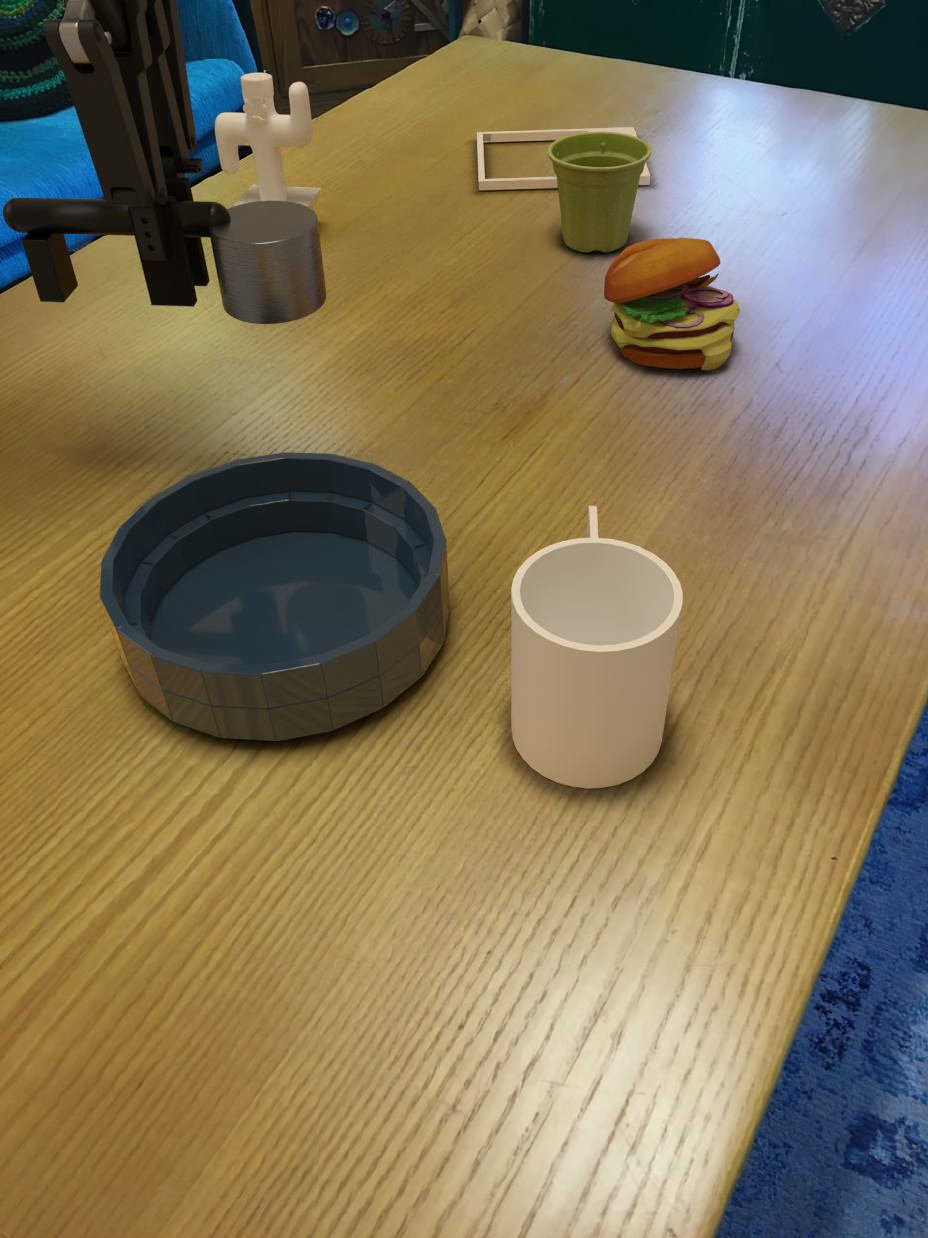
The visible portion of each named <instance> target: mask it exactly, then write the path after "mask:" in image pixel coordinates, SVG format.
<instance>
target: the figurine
mask: <svg viewBox="0 0 928 1238" xmlns="http://www.w3.org/2000/svg"><path fill="white" fill-rule="evenodd" d="M273 81H274V80H273V75H272V74H270V73H268V72H250V73H245V74H242V75H241V76H240V85H241V95H242V97H243V99H242V100H243V102H244V104H243V105H242V110H243V112H232V111H231V112H230V111H225V112H221V113H219V114H218V115H217V116H216V118H215V121H214V134H215V141H216V147H217V153H218V157H219V163H220V168H221V170H222V172H223V173H224V174H226V175H233V174H235V173H237V172H238V171H239V170H240V166H241V161H240V155H239V146H249V147H250V148H251V152H252V157H253V163H254V168H255V175H256V180H257V183H256V184H255V183H253V184H251V185H250V186H249V188H248V189H247V190H246V191H244V193H243V194H242V195H241V196H240V197H239V198H238V199H237V201H235V203H233V205H232V206H231V207H234V206H237V205H241V204H245V203H250V202H257V201H275V200H276V201H289V202H295V203H299V204H302V205H305V206H307V207H309V208H311V209H312V210H313V211H314V212H315V210H316V206H317V203H318V201H319V197H320V194H321V191H322V187H309V186H308V187H307V186H293V185H292V186H291V185H287V184H286V178H285V171H284V164H283V156H282V150H281V148H288V149H289V148H290V149H293V148H294V149H304V148H307V147H308V146H309V145H310V144H311V143H312V140H313V119H312V112H311V103H310V94H309V89H308V86H307V84H306V83H304V82H303V81H296V82H295V81H294V82H293V83H292V84H291V85H290V86H289V88H288V99H289V108H290V114H280V113H278V112H277V111H276V108H275V102H274V101H275V100H274V96H275V90H274V83H273Z"/></svg>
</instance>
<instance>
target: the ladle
mask: <svg viewBox="0 0 928 1238" xmlns="http://www.w3.org/2000/svg"><path fill="white" fill-rule="evenodd" d="M176 202H177V207H178V211H179V216H180V222H181V227H182V231H183V235H184V237H201V238H208V239H210V244H211V249H212V254H213V261H214V265H215V272H216V276H217V282H218V286H219V291H220V296H221V302H222V307H223V309H224V311H225V312H226V314H228V315H229V317H231V318H233V319H235V320H238V321H240V322H244V323H248V324H249V323H250V324H256V325H276V324H277V325H278V324H284V323H285V324H286V323H289V322H293V321H294V322H295V321H297V320H301V319H303V318H306V317H308V316H310V315H312V314H314V313H316V312H317V311H318V310H320V309H321V308H322V307H323V306H324V305H325V303H326V301H327V287H326V278H325V271H324V270H325V269H324V261H323V254H322V244H321V236H320V229H319V218H318V215H317V213H316V212H315V210H314V211H313V210H312V209H311V208H309V207H307V206H305V205H302V204H299V203H295V202H289V201H276V200H275V201H257V202H250V203H245V204H241V205H237V206H234V207H232V206H231V207H228V208H227V207H226V206H224V205H223V204H222V203H221V202H220V203H219V202H217V201H208V200H207V201H205V200H204V201H203V200H202V201H201V200H200V201H199V200H193V201H176ZM2 218H3V221H4V223H5V224H6V226H7V227H8V228H10V229H11V230H12V231H13V232H16V233H20V234H25V236H24V237H22V239H21V245H22V247H23V250H24V253H25V257H26V260H27V264H28V267H29V270H30V274H31V276H32V279H33V283H34V286H35V289H36V292H37V296H38V298H39V301H40V303H66V301H67V300H68V299H69V298H70V296H71V295H72V294H73V293H74V291H75V290H76V289H77V288H78V287H79V284H78V280H77V276H76V273H75V268H74V264H73V262H72V259H71V255H70V251H69V248H68V247H69V246H68V245H67V244H68V243H67V240H66V238H65V235H89V236H90V235H91V236H92V235H94V236H95V235H96V236H130V237H135V236H134V232H133V228H132V224H131V220H130V216H129V212H128V208H127V206H116V205H108V204H107V203H106V201H105V198H102V199H101V198H60V197H59V198H58V197H21V196H20V197H18V196H17V197H13V198H10V199H9V200H7V201H6V202H5V203H4V205H3V208H2Z"/></svg>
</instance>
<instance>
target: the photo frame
mask: <svg viewBox="0 0 928 1238" xmlns="http://www.w3.org/2000/svg"><path fill="white" fill-rule="evenodd" d="M635 129H636V128H635V127H634V126H624V127H622V126H621V127H620V126H619V127H595V128H593V127H592V128H590V127H589V128H562V129H531V130H504V131H503V130H501V131H477V132H476V150H477V151H476V152H477V176H478V180H477V181H478V191H497V190H498V191H502V190H531V189H533V190H534V189H558V185H557V176H533V177H532V176H531V177H503V178H486V174H485V172H486V171H485V152H484V151H485V150H484V143H502V142H503V143H504V142H505V143H506V142H507V143H508V142H535V141H539V142H540V141H556V140H558V139H560V138H562V137H565V136H569V135H573V134H578V133H584V132H617V133H621V134H628V135H632V136H635V137H638V135H637V132H636V130H635ZM650 185H651V173H650V170H649V168H648V165H647V161H646V162H645V166H644V170H643V172H642V174H641V175H640V179H639V184H638V186H650Z"/></svg>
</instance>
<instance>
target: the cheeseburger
mask: <svg viewBox="0 0 928 1238" xmlns="http://www.w3.org/2000/svg"><path fill="white" fill-rule="evenodd" d="M721 263H722V262H721V259H720V256H719V254H718V253H717V251H716V250H715V248H714V245H712V243H711V242H710V241H709V240H707V239H700V238H694V237H693V238H692V237H678V238H675V237H673V238H670V237H668V238H667V237H666V238H665V237H663V238H653V239H645V240H643V241H639V242H636V243H634V244H630V245H629V246H627V247H625V248H624V249H623V250H622V251H621V252H620V253H619V254H618V255H617V257H615V259H614V260H613V261H612V262H611V263H610V265H609V266H608V269H607V271H606V273H605V276H604V284H603V286H604V287H603V297H604V300H606V301H608V302H611V303H613V304H612V307H611V311H612V312H614V316H613V319H612V321H611V324H610V335H611V338H612V339H613V341H614V343H616V345H617V346H618V347H619V348H620V351H621V352H622V355H623V357H625V358H626V359H628V360H630V361H631V362H633V363H634V364H636V365H639V366H640V365H642V366H646V367H653V368H659V369H673V370H684V369H686V370H687V369H699V368H700V369H701V371H713V370H717V369H718V368H720V367H721V366H723V365H724V363H725V362H726V361H727V359H728V358H729V357H730V355H731V352H732V347H733V346H732V345H733V339H734V333H735V321H736V320H737V318H738V317H739V315H740V313H741V310H740V306H739V303H738V301H737V300H736V299H734V294H732V293H730V292H728V291H726V290H723V289H720V288H717V287H715V286H711V284H712V283H713V282H715V281H716V280H717V278H718V276H719V272H717V273H716V275H714V276H711V274H708V273H710V272H712V271H713V270H715V269H717V268H718V267H719V266H720V265H721Z"/></svg>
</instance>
